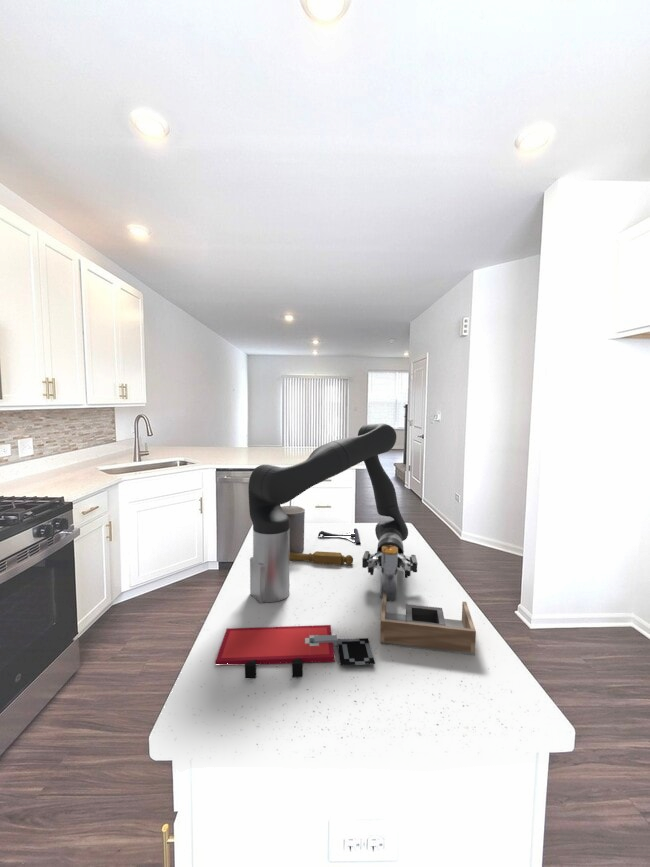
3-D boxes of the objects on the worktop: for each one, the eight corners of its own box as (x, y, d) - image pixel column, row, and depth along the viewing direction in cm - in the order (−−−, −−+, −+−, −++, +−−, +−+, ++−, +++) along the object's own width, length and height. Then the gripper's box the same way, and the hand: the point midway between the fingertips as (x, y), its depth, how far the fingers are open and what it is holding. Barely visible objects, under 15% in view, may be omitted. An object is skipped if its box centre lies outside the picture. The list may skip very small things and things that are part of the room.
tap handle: (259, 548, 127) (353, 553, 123) (259, 557, 128) (353, 563, 124) (256, 551, 124) (352, 557, 120) (256, 561, 125) (352, 567, 121)
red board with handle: (377, 675, 73) (364, 629, 88) (377, 660, 73) (364, 617, 88) (210, 682, 71) (226, 634, 86) (210, 667, 71) (226, 622, 86)
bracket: (318, 532, 153) (318, 525, 153) (357, 532, 153) (357, 525, 153) (317, 546, 139) (317, 538, 139) (360, 546, 139) (360, 538, 138)
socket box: (474, 655, 79) (475, 631, 79) (380, 643, 82) (380, 620, 82) (465, 622, 91) (466, 601, 90) (382, 613, 94) (383, 593, 94)
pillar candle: (270, 553, 130) (270, 508, 129) (282, 542, 139) (282, 500, 138) (298, 557, 127) (298, 511, 126) (308, 546, 137) (309, 503, 135)
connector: (388, 603, 99) (389, 552, 98) (377, 596, 102) (378, 547, 101) (399, 598, 101) (401, 548, 100) (388, 592, 104) (390, 543, 103)
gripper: (366, 534, 117) (360, 556, 101) (415, 538, 114) (418, 560, 98) (365, 559, 117) (360, 584, 101) (415, 563, 115) (417, 590, 99)
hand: (389, 572), depth 100 cm, fingers open, 8 cm apart
